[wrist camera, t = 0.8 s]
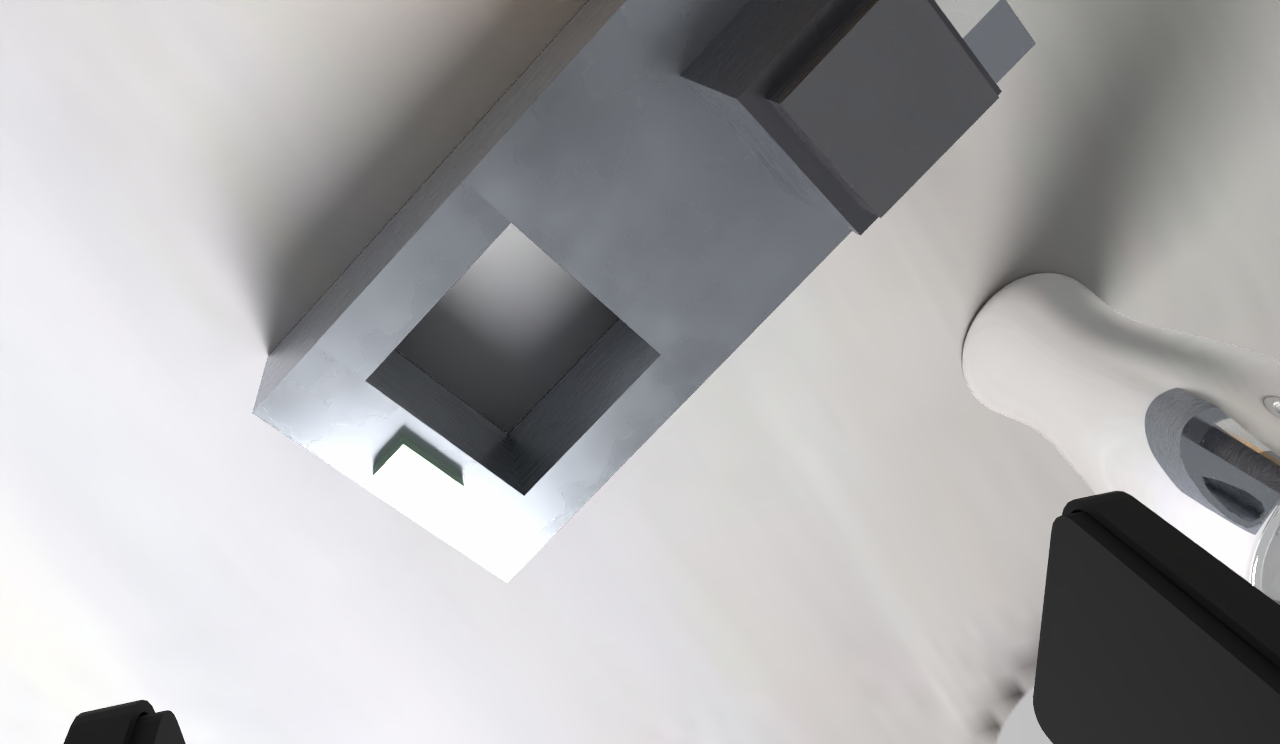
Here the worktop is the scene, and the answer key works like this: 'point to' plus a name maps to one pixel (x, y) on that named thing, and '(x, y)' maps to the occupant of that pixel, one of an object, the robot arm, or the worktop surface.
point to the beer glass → (1141, 412)
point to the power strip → (630, 235)
